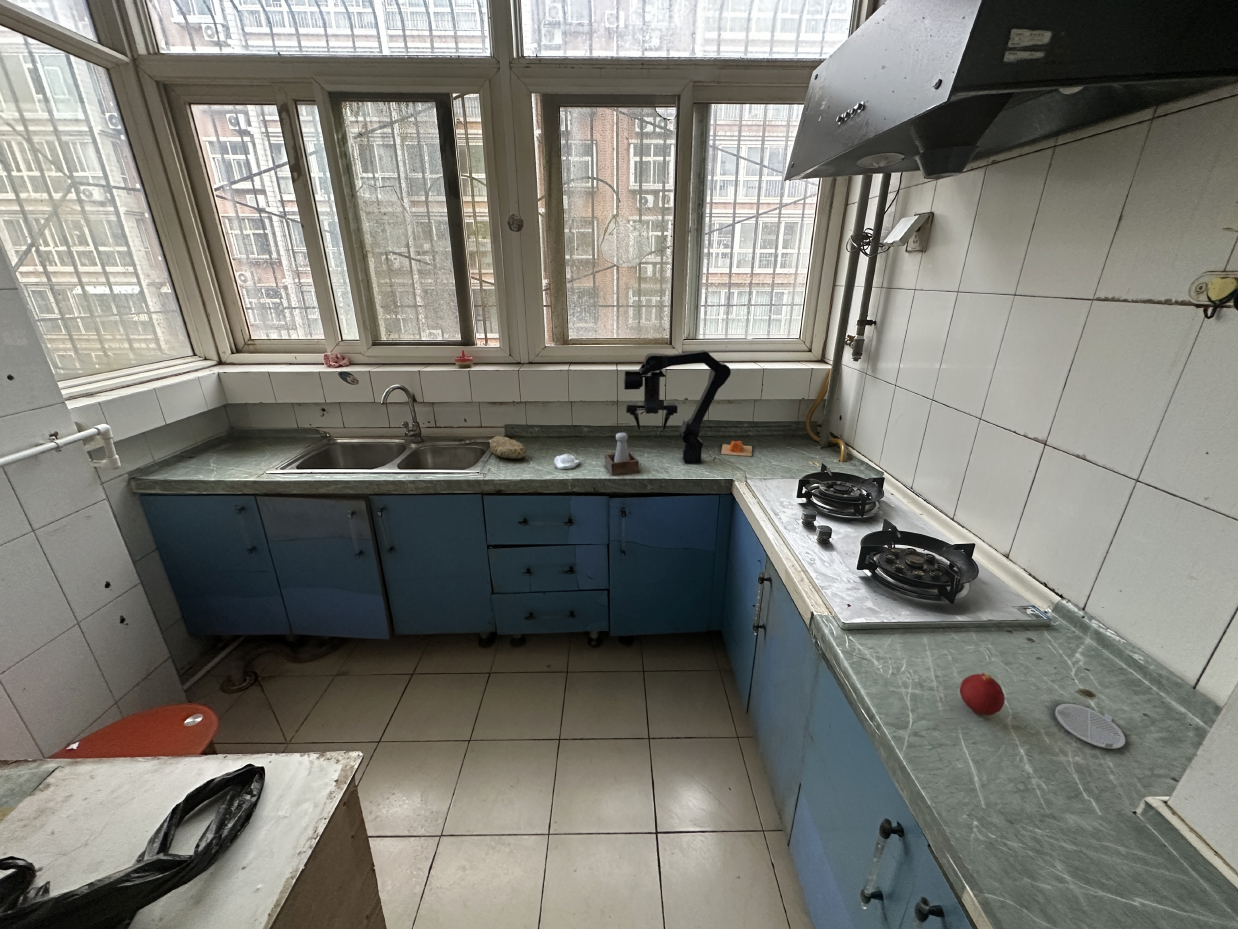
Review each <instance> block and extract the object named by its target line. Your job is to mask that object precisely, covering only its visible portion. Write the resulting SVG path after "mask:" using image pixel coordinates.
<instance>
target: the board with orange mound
mask: <svg viewBox="0 0 1238 929" xmlns="http://www.w3.org/2000/svg"><path fill="white" fill-rule="evenodd" d="M720 455H732V456H744V457H745V456H746V457H747V456H748V457H752V455H753V446H752V445H743V441H742V440H737V441H736V440H731V442H730V444H723V443H722V446H721V451H720Z"/></svg>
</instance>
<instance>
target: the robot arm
mask: <svg viewBox="0 0 1238 929" xmlns="http://www.w3.org/2000/svg"><path fill="white" fill-rule="evenodd" d="M699 363H703V364H704V365H705V366H706V367H707V368H709V369H710V370H709V374H708V377H707V378H708V379H707V384H706V386H705V388H704V390H703V392H702V394H701V396H700V398H699V400H698V402H697V404H696V406H695V408H694V410H693V412H692V414H691V416H690V418H689V419H687V420H685V419H683V421H682V423H681V425H680V427H679V428H678V429H679V436H680V438H681V440H682V442H683V443H684V447H683V448H682V461H684V462H683V463H684V464H697V465H698V464H700V465H701V464H703V462H702V451H703V450H702V449H703V447H704V442H703V441H702V440H701V438H700V437H699V436H700V432H701V427H702V422H703V420H704V418H705V416H706V414H707V413H708V411H709V409H710V406H711V404H712V402H713V401H714V399H715V397H716V394H717V393H718V391H719V389H720V388H722V386H723V385H725V384H726V382H727V381H728V380H729V378H730V377H731V374H732V371H731V368H730V367H729V365H727V364H726V363H725V362H722V361H718V360H717V359H716V358H715V357H714V356H712V355H711V354H710V353H709V351H707V350H706V349H701V350H697V351H687V352H679V353H670V354H666V353H659V352H658V353H657V352H649V353H647V354H646V355H645V356H644V359H643V363H642V364H641V366H640V367H639V368H638V370H628V369H627V370H624V377H623V390H624V391H625V390H627V391H628V390H629V391H630V390H641V389H642V387H644V389H643V404H638V401H629V402H627V403H626V407H625V409H626V410H625V411H626V412H625V413H627V414H629V415H630V416H632V417H633V418H634V420H635V423H636V426H637V429H638V431H641V424H640V415H639V414H640V413H639V411H644V412H645V414H646V415H649V414H654V415H657V414H659V411H664V419H663V425H662V430H663V431H665V430H666V427H667V424H668V421H669V419H670V418H671V416H674V414H678V408H679V407H678V403H677V402H670V401H668V402H666V404H665V399H661V378H665V377H667V375H666V374H665V373H664V372H663V370H664V369H668V368H670V367H675V366H682V365H691V364H699Z"/></svg>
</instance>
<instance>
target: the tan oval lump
mask: <svg viewBox="0 0 1238 929" xmlns="http://www.w3.org/2000/svg"><path fill="white" fill-rule="evenodd" d="M489 447H490V450H491V453H493V454H494V455H495V456H496V457H497V456H498V457H500V458H503V459H510V460H511V459H512V460H516V459H517V460H520V459H522V458H524V457H525V456H526V454H527V448H526V447H525V446H524V444H522V443H521V442H519V441H517V440H515V439H513V438H512V439H511V438H509V437H507V436H503V435H497V436H494V437H493V438H491V439H490V443H489Z"/></svg>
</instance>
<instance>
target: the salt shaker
mask: <svg viewBox="0 0 1238 929" xmlns="http://www.w3.org/2000/svg"><path fill="white" fill-rule="evenodd" d="M628 437H629V436H628V434H627V433H626V432H618V433H616V434H615V440H616V441H617V442H616V443H617V444H616V448H615V453H616V454H615V459H614V462H624V461H630V458H629V453H628V452H629V448H628V443H627V441H628V439H629V438H628Z"/></svg>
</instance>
